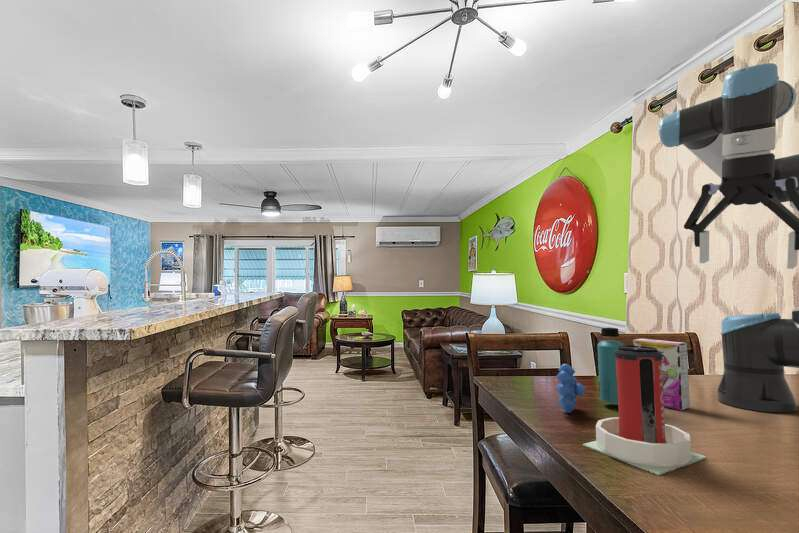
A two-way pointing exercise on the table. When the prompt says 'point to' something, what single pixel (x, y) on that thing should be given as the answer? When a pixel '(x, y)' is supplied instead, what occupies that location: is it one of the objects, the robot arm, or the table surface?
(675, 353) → the candy bar box
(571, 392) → the grapes
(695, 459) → the mat
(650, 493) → the table surface
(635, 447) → the bowl
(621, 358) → the speaker
